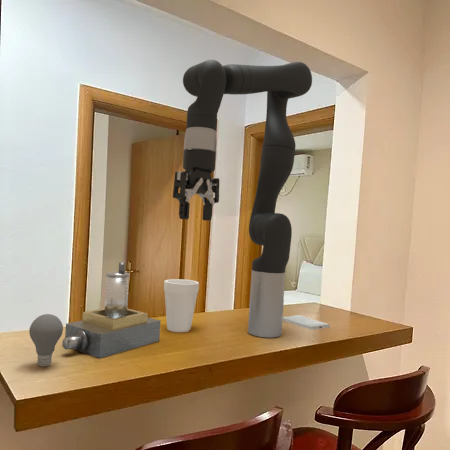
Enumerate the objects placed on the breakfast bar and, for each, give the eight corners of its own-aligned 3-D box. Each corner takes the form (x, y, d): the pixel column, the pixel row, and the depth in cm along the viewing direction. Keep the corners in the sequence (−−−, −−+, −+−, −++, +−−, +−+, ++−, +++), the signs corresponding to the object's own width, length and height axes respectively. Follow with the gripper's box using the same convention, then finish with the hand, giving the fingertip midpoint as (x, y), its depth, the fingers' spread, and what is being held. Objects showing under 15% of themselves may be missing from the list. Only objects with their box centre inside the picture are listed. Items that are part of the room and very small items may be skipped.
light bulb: (59, 370, 79) (62, 318, 79) (24, 372, 77) (27, 318, 77) (62, 360, 84) (65, 311, 84) (30, 361, 83) (32, 311, 83)
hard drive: (282, 317, 132) (311, 326, 122) (300, 314, 137) (330, 323, 127) (281, 322, 132) (311, 331, 122) (299, 319, 137) (329, 328, 127)
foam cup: (190, 335, 108) (193, 285, 108) (156, 331, 110) (159, 282, 110) (199, 326, 118) (202, 281, 117) (168, 323, 119) (171, 278, 119)
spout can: (116, 318, 101) (119, 260, 101) (131, 322, 98) (135, 262, 98) (98, 321, 97) (101, 261, 97) (113, 325, 94) (116, 263, 94)
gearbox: (125, 331, 108) (127, 303, 108) (159, 341, 102) (161, 311, 102) (48, 349, 90) (50, 316, 90) (83, 363, 83) (85, 327, 83)
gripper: (205, 155, 104) (201, 220, 104) (167, 145, 92) (162, 217, 93) (230, 154, 100) (226, 221, 100) (193, 143, 88) (188, 219, 88)
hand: (195, 219), depth 96 cm, fingers open, 8 cm apart
